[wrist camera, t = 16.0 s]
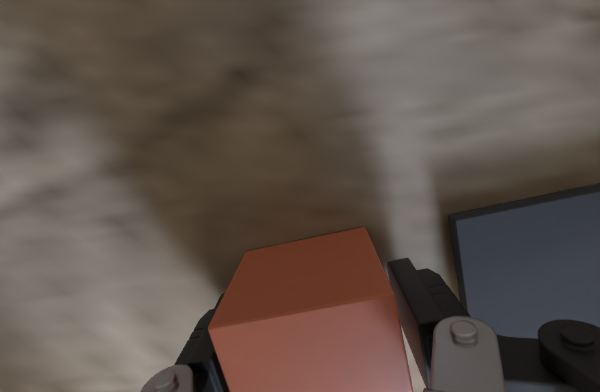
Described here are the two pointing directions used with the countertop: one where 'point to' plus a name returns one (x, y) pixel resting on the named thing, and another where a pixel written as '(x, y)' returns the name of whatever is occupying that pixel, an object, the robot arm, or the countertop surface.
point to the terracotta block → (311, 320)
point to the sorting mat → (530, 261)
